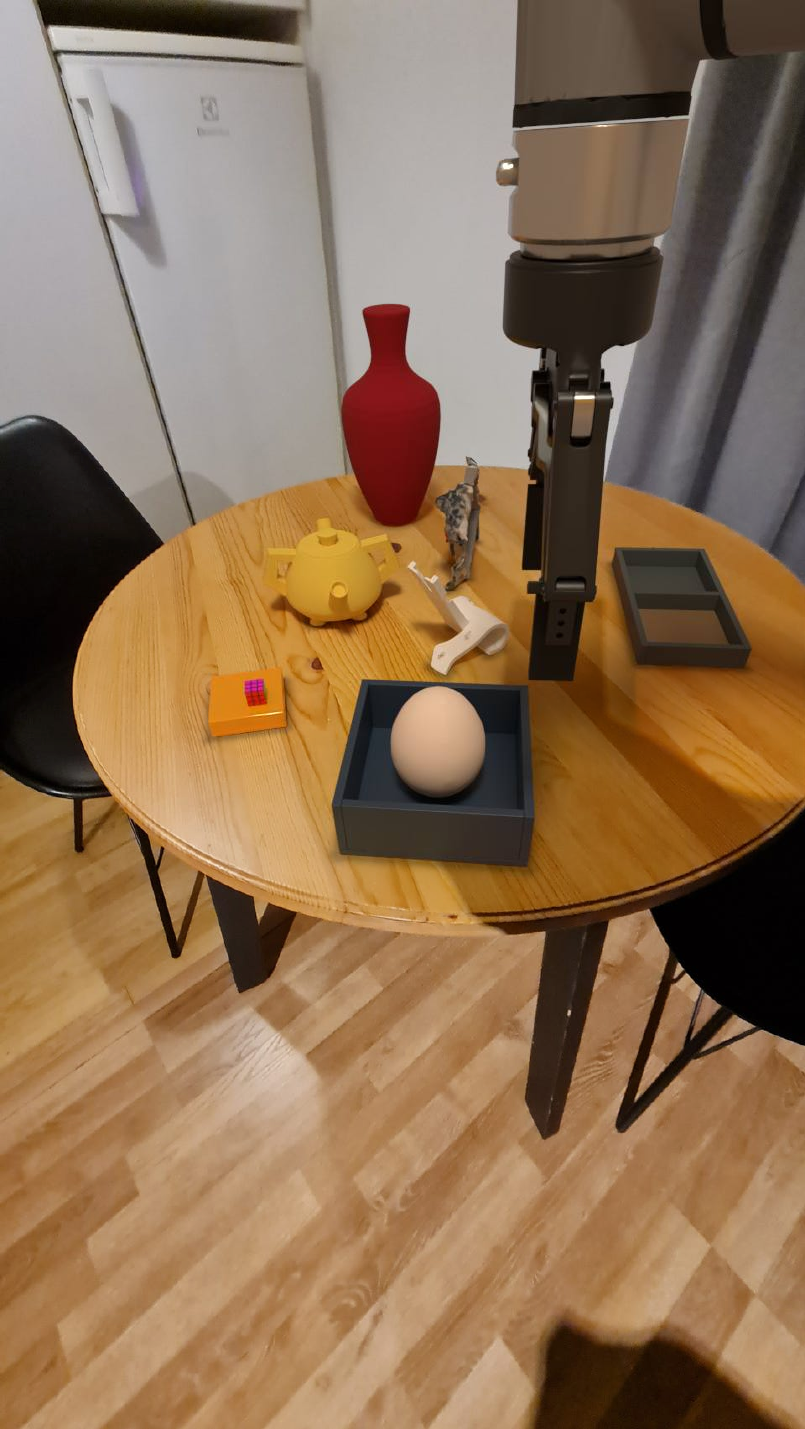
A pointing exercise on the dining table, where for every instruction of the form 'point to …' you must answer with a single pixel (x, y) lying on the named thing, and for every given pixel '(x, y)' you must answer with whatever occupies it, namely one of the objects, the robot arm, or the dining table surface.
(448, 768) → the egg
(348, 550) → the teapot
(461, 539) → the grey mottled flat piece
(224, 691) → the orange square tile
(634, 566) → the tray
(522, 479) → the dining table surface
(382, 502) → the vase
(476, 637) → the plastic part
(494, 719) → the tub
